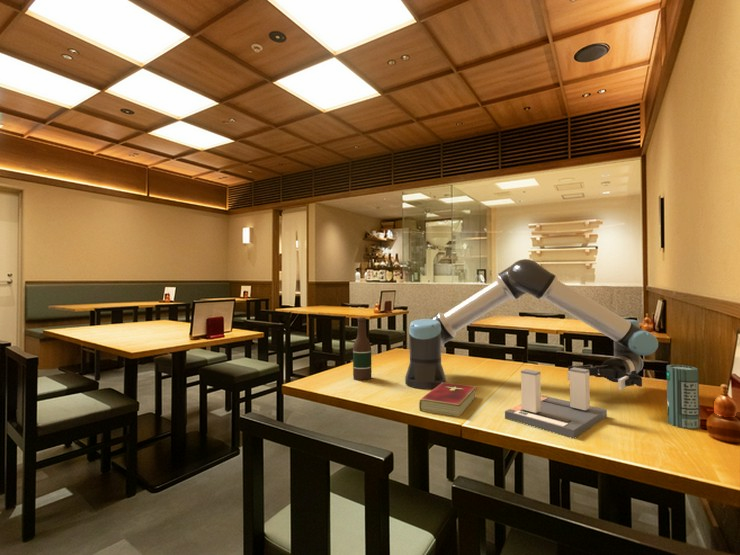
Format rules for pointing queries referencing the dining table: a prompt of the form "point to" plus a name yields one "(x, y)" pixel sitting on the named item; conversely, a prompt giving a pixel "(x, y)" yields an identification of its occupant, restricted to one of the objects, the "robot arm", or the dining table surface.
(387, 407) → the dining table surface
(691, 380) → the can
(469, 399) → the hardcover book
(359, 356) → the beer bottle
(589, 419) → the switch base
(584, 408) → the back tab
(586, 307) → the robot arm
